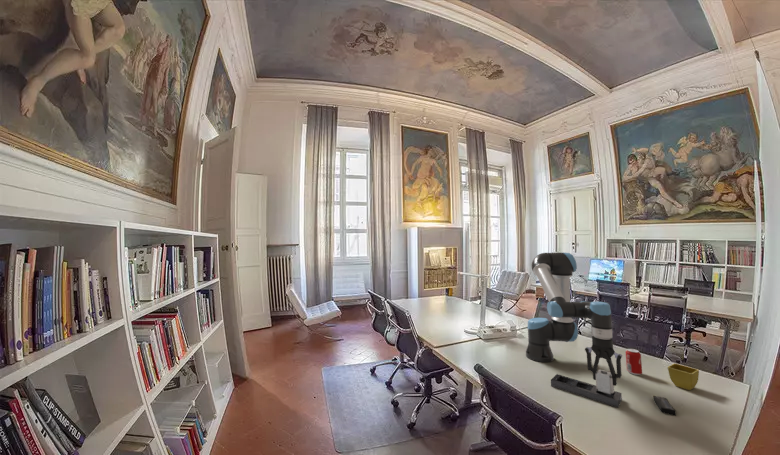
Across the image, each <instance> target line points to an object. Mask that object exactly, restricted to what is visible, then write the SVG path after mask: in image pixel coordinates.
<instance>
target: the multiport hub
mask: <svg viewBox="0 0 780 455" xmlns="http://www.w3.org/2000/svg"><path fill="white" fill-rule="evenodd" d="M652 398H653V399H652V400H653V402H654V404H655V405H656V407H657V408H658V409H659V411H660V413H662V414H666V415H671V416H677V414H676V413H677V412H676V409H675V408H674V406H673V405H672V404H671V402H670V401H669V400H668V398H666V397H663V396H656V395H653V396H652Z"/></svg>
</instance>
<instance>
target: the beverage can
mask: <svg viewBox="0 0 780 455" xmlns="http://www.w3.org/2000/svg"><path fill="white" fill-rule="evenodd" d="M625 366H626V371H627V372H628V373H629V374H631V375H634V376H641V375H642V374H643V367H642V366H643V363H642V354H641V353H640V351H639V350H637V349H634V348H627V349H626V350H625Z"/></svg>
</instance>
